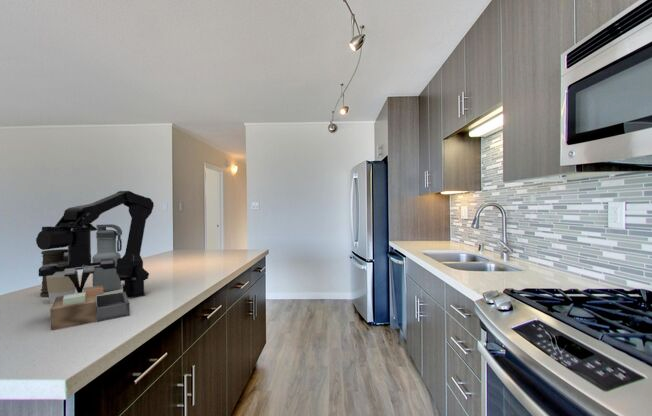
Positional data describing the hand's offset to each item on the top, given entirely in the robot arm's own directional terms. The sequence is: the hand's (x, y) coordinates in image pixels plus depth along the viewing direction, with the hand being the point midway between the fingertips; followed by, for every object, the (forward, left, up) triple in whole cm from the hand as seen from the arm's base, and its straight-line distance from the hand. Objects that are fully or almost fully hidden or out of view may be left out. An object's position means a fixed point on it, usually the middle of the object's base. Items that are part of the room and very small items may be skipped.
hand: (80, 293), depth 95 cm
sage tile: (+1, +7, -1) cm, 7 cm away
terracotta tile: (-3, 0, -1) cm, 4 cm away
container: (+9, -38, -7) cm, 40 cm away
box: (-8, +4, -7) cm, 11 cm away
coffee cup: (+6, -23, -7) cm, 25 cm away
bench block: (+1, +4, -7) cm, 8 cm away
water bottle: (-8, -32, -7) cm, 34 cm away
